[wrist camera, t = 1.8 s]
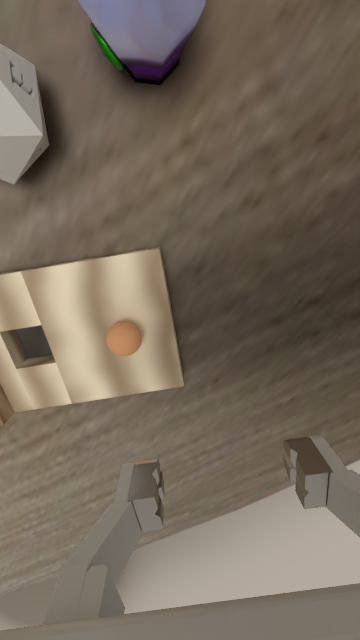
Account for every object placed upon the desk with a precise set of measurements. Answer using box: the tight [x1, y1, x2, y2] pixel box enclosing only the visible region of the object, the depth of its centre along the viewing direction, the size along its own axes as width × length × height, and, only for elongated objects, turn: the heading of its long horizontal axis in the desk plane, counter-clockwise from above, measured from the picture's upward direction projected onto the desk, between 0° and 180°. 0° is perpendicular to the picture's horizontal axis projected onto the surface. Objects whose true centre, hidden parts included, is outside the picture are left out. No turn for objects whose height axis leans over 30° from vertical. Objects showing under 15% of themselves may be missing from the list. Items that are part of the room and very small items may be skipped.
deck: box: [0, 247, 184, 425], centre depth 26 cm, size 22×16×4 cm
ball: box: [106, 322, 142, 356], centre depth 24 cm, size 4×4×4 cm
